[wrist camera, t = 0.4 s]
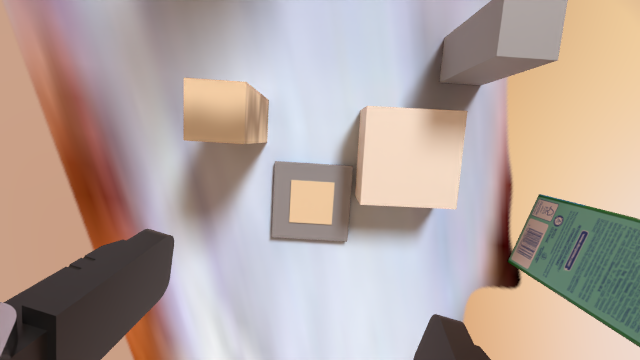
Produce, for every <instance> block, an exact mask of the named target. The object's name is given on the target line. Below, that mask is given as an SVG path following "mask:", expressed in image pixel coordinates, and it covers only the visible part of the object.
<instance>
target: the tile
mask: <svg viewBox="0 0 640 360" xmlns="http://www.w3.org/2000/svg"><path fill="white" fill-rule="evenodd" d="M352 174H353V166H344V165H328V164H313V163H297V162H281V161H275V173H274V196H273V219H272V237H279V238H296V239H313V240H330V241H347V237H348V225H349V212H350V199H351V187H352Z"/></svg>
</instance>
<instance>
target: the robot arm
mask: <svg viewBox="0 0 640 360" xmlns="http://www.w3.org/2000/svg"><path fill="white" fill-rule="evenodd" d="M173 249H174V238H173V237H172V236H171V235H167V234H164V233H160V232H157V231H154V230H150V229H145V230H143V231H141V232H140V233H138V234H137V235H135V236H133V237H132V238H130V239H128V240H127V241H126V240H120V241H117V242H113V243H110V244H107V245H104V246H101V247H99V248H98V249H96V250H94V251H92V252H91V253H89V254H87V255H85V257H84V258H80V259H78V260H77V261H75V262H73V263H72V264H70V266H69V267H65V268H63V269H61V270H60V271H58V272H56V273H54V274H53V275H51V276H49V277H47V278H46V279H44V280H42V281H40V282H39V283H37V284H35V285H33V286H32V287H30V288H29V289H27V290H25V291H23V292H21V293H19V294H18V295H16V296H14V297H13V298H11V299H9V300H7V301H6V302H4V303H2V302H0V360H101V359H102V358H103V357H104V356H105V355H106V354H107V353H108V352H109V350H111V349H112V347H114V346H115V345H116V344H117V343H118V342H119V341H120V339H122V337H123V336H124V335H125V334H126V333H127V332H128V331H129V330H130V329H131V328H132V327H133V326H134V325H135V324H136V323H137V322H138V321H139V320H140V319H141V318H142V317H143V316H144V315H145V314H146V313H147V312H148V311H149V310H150V309H151V308H152V307H153V306H154V305H155V304H156V303H157V302H158V301H159V300H160V299H161V297H162V296H163V294H164V293H165V291H166V289H167V286H168V284H169V280H170V273H171V265H172V257H173ZM414 360H491V359H490V358H489V357H488V356H487V355H486V353H485V352H484V351H483V350H482V349H481V348H480V347H479V346H476V345H474V343H473V341H472V339H471V337H470V335H469V333H468V331H467V329H466V327H465V325H464V323H463V322H461V321H457V320H454V319H450V318H447V317H444V316H440V315H437V314H434V315H433V316H432V317H431V319H430V321H429V323H428V325H427V328H426V330H425V332H424V335H423V337H422V339H421V341H420V344H419V346H418V348H417V351H416V353H415V356H414Z"/></svg>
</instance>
